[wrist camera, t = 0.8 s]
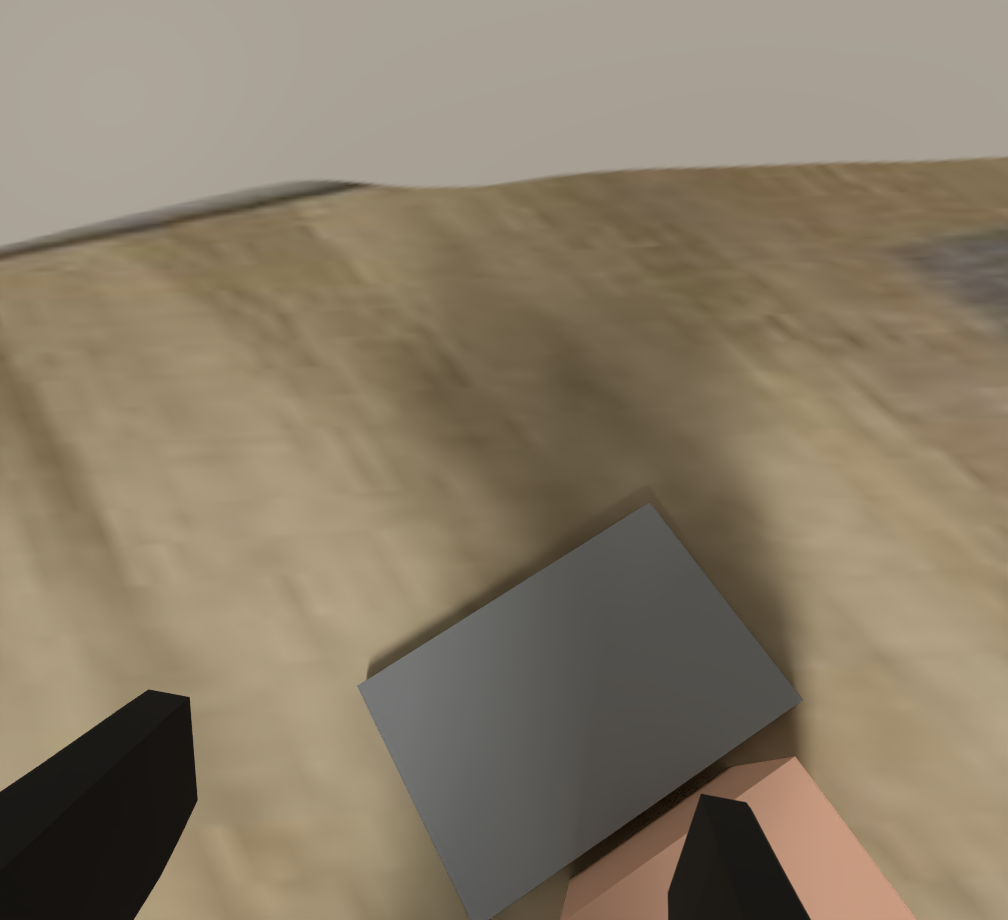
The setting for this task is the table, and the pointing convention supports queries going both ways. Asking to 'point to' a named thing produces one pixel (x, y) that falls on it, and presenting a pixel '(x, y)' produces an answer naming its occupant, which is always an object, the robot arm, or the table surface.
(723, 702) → the board
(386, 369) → the table surface
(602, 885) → the block
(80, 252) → the table surface
